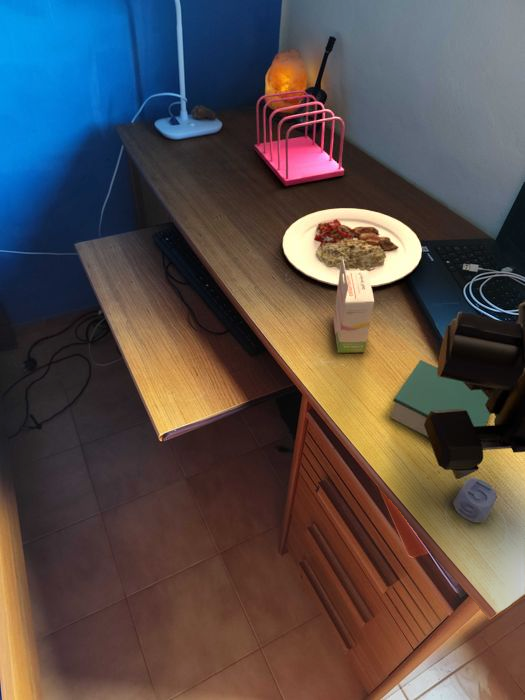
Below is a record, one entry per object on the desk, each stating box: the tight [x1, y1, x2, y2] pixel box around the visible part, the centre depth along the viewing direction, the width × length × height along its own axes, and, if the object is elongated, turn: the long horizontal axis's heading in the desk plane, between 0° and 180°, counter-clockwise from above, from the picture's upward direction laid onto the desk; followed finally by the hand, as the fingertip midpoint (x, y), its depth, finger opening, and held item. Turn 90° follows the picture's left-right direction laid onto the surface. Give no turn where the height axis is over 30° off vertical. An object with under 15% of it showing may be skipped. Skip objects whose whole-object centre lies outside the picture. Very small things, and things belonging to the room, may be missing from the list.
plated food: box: [282, 207, 423, 288], centre depth 102 cm, size 30×30×3 cm
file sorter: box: [254, 89, 345, 187], centre depth 128 cm, size 17×25×16 cm
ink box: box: [333, 257, 375, 354], centre depth 79 cm, size 9×5×15 cm, turn 179°
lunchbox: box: [390, 359, 492, 438], centre depth 70 cm, size 12×10×5 cm
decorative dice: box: [452, 477, 498, 523], centre depth 60 cm, size 4×4×4 cm
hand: (494, 472), depth 55 cm, fingers open, 9 cm apart
